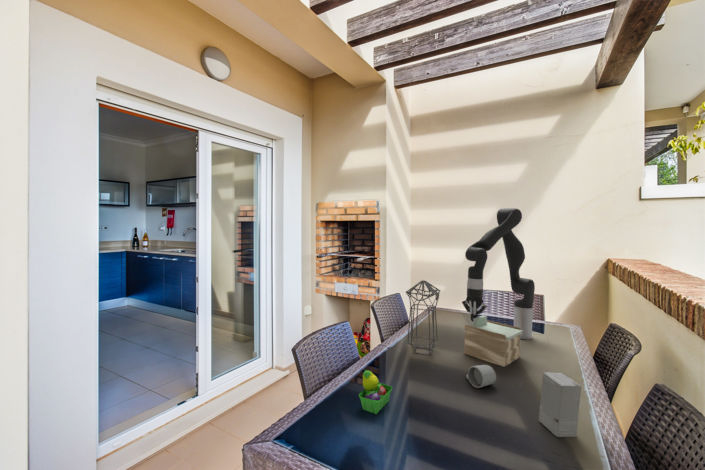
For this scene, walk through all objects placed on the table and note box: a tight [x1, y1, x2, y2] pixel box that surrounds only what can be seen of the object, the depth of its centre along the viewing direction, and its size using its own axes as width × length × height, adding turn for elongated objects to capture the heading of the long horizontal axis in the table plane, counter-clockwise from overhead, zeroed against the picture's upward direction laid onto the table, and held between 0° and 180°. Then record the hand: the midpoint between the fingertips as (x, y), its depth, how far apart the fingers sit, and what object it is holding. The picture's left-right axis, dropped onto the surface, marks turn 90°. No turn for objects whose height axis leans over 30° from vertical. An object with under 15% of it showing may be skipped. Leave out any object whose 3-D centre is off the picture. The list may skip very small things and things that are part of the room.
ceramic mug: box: [465, 364, 497, 389], centre depth 123 cm, size 11×8×8 cm
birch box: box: [463, 319, 521, 368], centre depth 151 cm, size 17×19×14 cm
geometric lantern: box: [405, 279, 441, 356], centre depth 155 cm, size 16×16×35 cm
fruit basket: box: [358, 369, 393, 415], centre depth 107 cm, size 11×9×11 cm
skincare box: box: [538, 371, 582, 438], centre depth 95 cm, size 8×7×16 cm
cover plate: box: [472, 314, 523, 340], centre depth 149 cm, size 15×18×5 cm
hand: (473, 321), depth 158 cm, fingers closed
